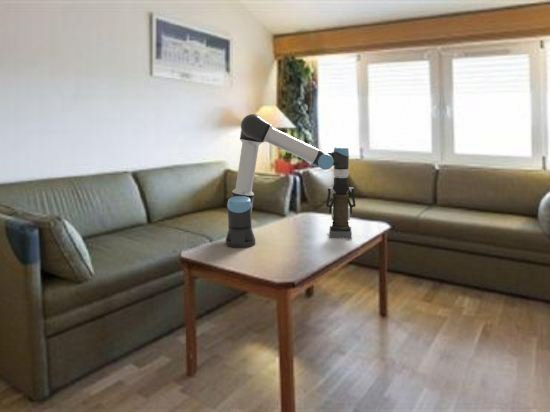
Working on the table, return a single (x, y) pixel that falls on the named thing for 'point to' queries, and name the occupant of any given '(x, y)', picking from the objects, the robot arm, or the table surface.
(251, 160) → the robot arm
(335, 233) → the tray
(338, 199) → the container
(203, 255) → the table surface
